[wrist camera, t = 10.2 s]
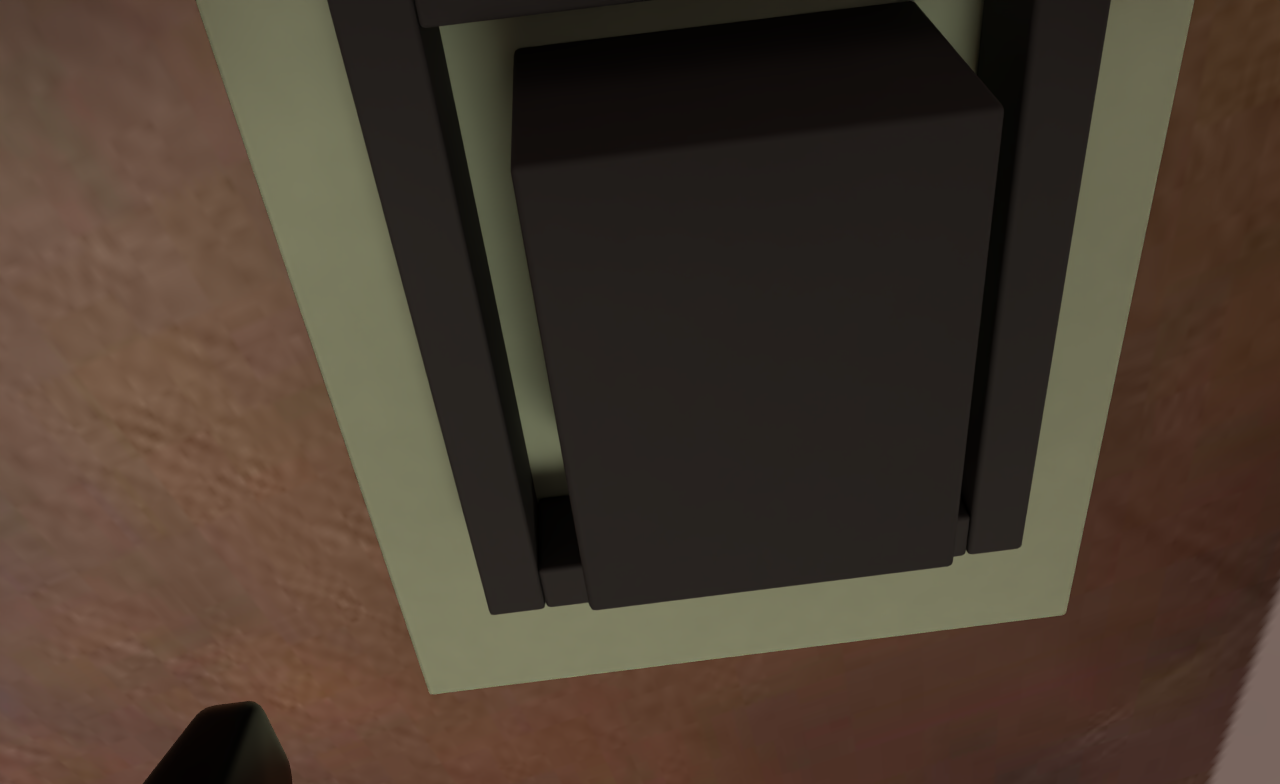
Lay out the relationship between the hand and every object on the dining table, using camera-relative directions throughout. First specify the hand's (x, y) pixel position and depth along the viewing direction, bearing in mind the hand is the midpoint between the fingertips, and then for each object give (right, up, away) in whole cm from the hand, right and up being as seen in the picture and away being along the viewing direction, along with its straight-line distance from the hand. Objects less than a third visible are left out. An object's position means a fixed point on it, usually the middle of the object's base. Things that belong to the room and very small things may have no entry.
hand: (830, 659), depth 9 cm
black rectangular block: (0, +4, +5) cm, 7 cm away
